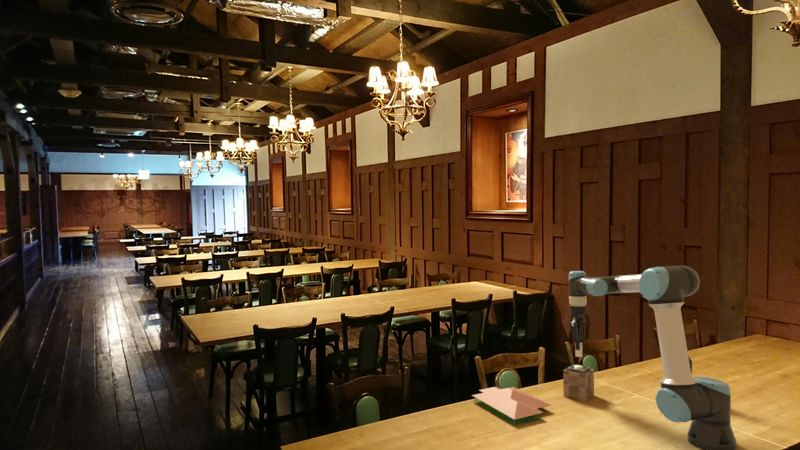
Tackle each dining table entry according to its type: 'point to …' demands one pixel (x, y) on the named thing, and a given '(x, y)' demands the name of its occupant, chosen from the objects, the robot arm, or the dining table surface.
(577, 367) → the peg
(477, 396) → the house
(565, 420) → the dining table surface
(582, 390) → the socket block
